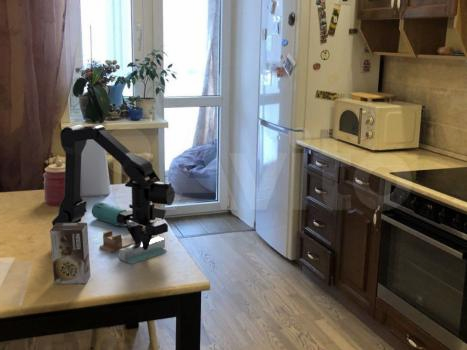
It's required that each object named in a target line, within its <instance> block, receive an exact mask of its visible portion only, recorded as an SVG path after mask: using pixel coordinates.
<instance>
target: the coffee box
mask: <svg viewBox="0 0 467 350" xmlns="http://www.w3.org/2000/svg"><path fill="white" fill-rule="evenodd" d="M49 235H50V247H51V257H52V259H51V260H52V271H53V284H54V285H68V284H70V285H71V284H72V285H74V284H76V283H78V285H79V283H85V284H87V283H88V281H89V279H90V277H91V266H90V265H91V264H90V262H91V261H90V250H89V249H90V247H89V233H88V222H78V223H56V224H55V225H54V226H53V225H52V227H51V229H50V230H49ZM85 284H84V285H85Z"/></svg>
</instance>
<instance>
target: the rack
mask: <svg viewBox="0 0 467 350" xmlns="http://www.w3.org/2000/svg"><path fill="white" fill-rule="evenodd" d="M142 230H144V226H143V228H142ZM153 238H155V236H152V238H151V239H153ZM141 242H142V241H141ZM102 243H103V244H101V245H100V244H99V249H100V250H101V251H104V252H106V253H109V254H113V253H116V252H117V253H118V252H119V250H120V249H123V248H126V247H129V246H132V245H135V244H136V243H135V242H134V240H133V238H132V236H131V235H129V236H126V237H122V234H121V233H119V234H113V230H111V229H110V230H107V231H103V233H102Z"/></svg>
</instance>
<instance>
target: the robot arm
mask: <svg viewBox="0 0 467 350" xmlns="http://www.w3.org/2000/svg"><path fill="white" fill-rule="evenodd" d="M59 132H60V133H59V135H60V136H59V138H60V145H61V148H62V149H63V151H64V153H65V159H64V164H65V195H64V198H63V200H62V202H61V204H60V206H58V215H56V217H55V218H54V219H53V220H52V221H51V224H52V227H53V226H54V225H55V224H56V223H82V222H81V221H82V219H83V217H84V216H85V213H88V211H87V203H88V202H87V200H85V199H84V200H83V197H81V196H80V182H81V154H82V151H83V149H84V147H85V145H86V142H87V140H91V139H93V140H94V141H95V142H97V143H98V144H99V145H100V146H101V147H102V148H103V149H104V150H106V153H108V154H109V155H110V156H111V157H112V158H113V159H115V160H116V161H117V162H118V163H119V164H120V165H121V167H122V170H123V172H124V173H125V175H126V176H127V177H128V178H129V180H128V182H126V183H125V185H124V187H127V188H131V203H130V204H129V205H128V208H130V210H127V211H126V212H122V213H119V214H118V215H117V222H118V223H121V224H123V223H124V222H125V220H126V221H127V225H124V227H125V229H127V232H128V233H129V234H130V236H132V238H133V240H134V242H135V243H136V244H138V243H141V241H142V245H143V248H144V250H147V249H148V246H149V243H150V240H151V238H152V236H154V237H156V236H158V235H161V234H164V233H168V232H169V225H168V223H166V222H164V221H161V220H165V216H166V213H167V210H166V209H164V208H161V207H158V206H155V204H157V205H165V206H171V205H172V204H174V201H175V197H176V192H175V189H174V187H173V186H172V182H162V181H161V179H160V178H159V176H158V175H157V173H156V171H155V170H154V167H153V164H152V163H151V161H149V160H148V159H146V158H144V157H143V156H141V155H138V154H136V153H133V152H132V151H130V150H129V149H128V148H127V147H126V146H125V145H123V144H122V143H121V142H120V141H119V139H117V138H116V137H114V136H113V134H111V133H110V132H109V131H108V130H107V129H106V128H105V126H104V125H101V124H98V125H87V126H84V125H82V124H78V123H77V124H74V125H70V126H66V127H64V128H62V129H61V130H60V131H59ZM147 178H149V179H147ZM156 219H161V220H156ZM143 226H144V230H142V228H143Z"/></svg>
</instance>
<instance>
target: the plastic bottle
mask: <svg viewBox="0 0 467 350" xmlns="http://www.w3.org/2000/svg"><path fill="white" fill-rule="evenodd" d="M107 157H108V156H107V151H106V150H104V149H103V148H102V147H101V146H100V145H99V144H98V143H97V142H95V141H94V140H93V139H91V140H87V142H86V145H85V147H84V149H83V151H82V154H81V182H80V196H81V198H85V197H90V198H91V197H103V196H107V195H109V193H110V191H111V183H110V176H109V175H110V173H109V168H108V167H109V166H108V158H107Z"/></svg>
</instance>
